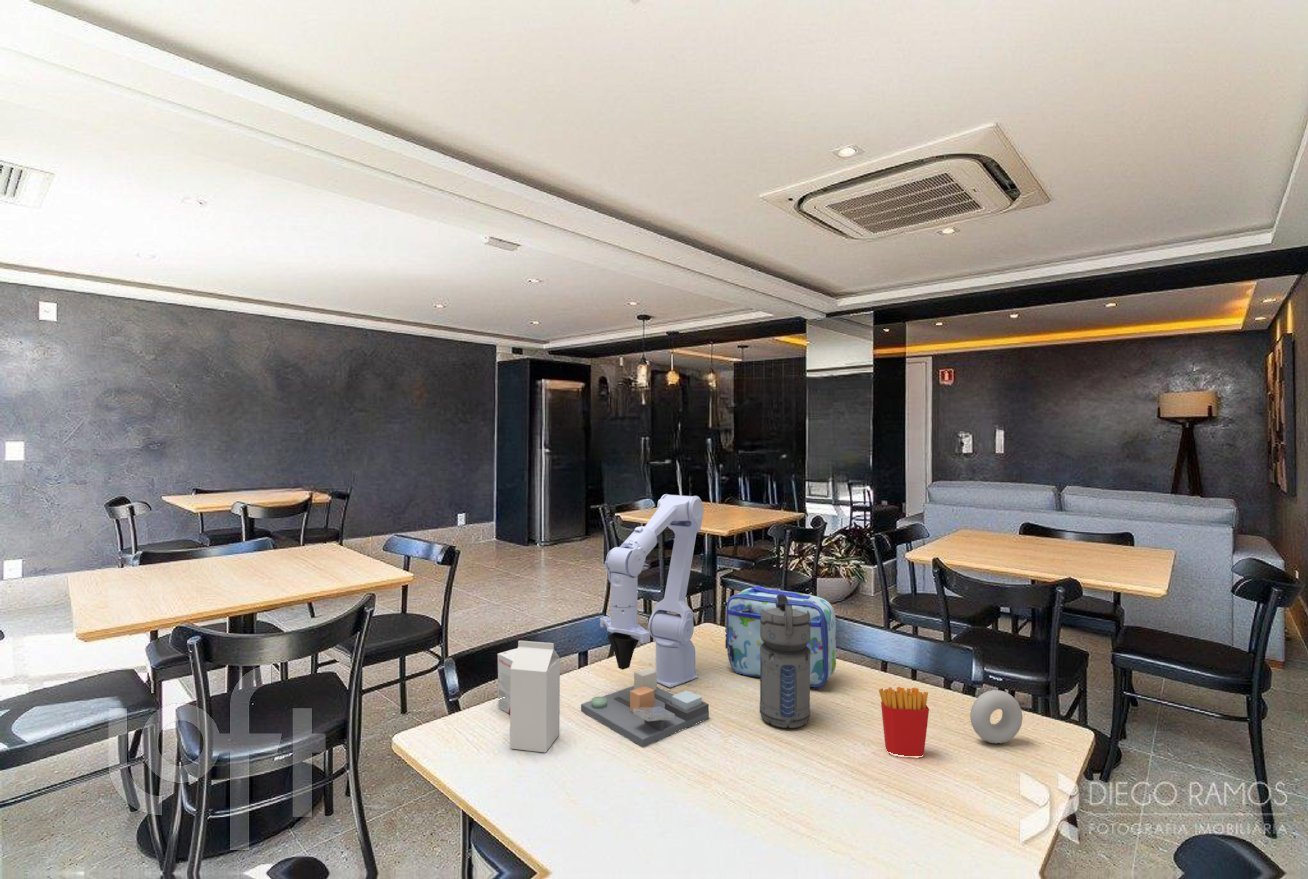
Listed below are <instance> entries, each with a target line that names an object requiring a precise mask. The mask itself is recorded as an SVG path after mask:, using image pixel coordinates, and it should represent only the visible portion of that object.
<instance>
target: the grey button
mask: <svg viewBox="0 0 1308 879" xmlns="http://www.w3.org/2000/svg"><path fill="white" fill-rule="evenodd" d="M702 701H703V696H701V695H698V694H696V693H694V692H691V691H689V690H688V689H687V690H684V691H681V692H679V693H676V694H673V696H672V704H673V705H675V706H677V707H679V708H681V709H683V710H685V711H688V710H690V709H693V708H695V707H698V706H700V705H702Z"/></svg>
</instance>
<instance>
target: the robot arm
mask: <svg viewBox="0 0 1308 879" xmlns="http://www.w3.org/2000/svg"><path fill="white" fill-rule="evenodd" d="M656 506H657V507H656V511H655V512H654V513H653V515H652V516H651V517H650V518H649V520H648V522H647V523H646V524H645V525H644V526H643V525H641V526H637V527H635V528H634V530H633V531H632V532H631V534H630V535H629V536H628V537H627V538H626V539H625V541H623V543H621V545H619V546H615V547H613V548H612V549H610V550H609V551H608V553H607V555H606V558H605V561H604V568H605V570H606V572H607V575H608V578H607V580H608V581H609V583H610V616H607V615H606V616H603V617H600V618H599V627H600V628H606V631H607V632H609V633H610V634H608V635H607V640H608V641H609V642H610V645H611V646H612V649H613V652H614V656H615V659H616V663H617V668H618V669H620V670H623V671H624V670H626V669H630V666H631V662H632V658H633V654H634V652H635V649H636V647H637V645H638V643H641V644H645V643H649V642H650V641H651V637H652V642H654V643H655V671H656V672H657V684H658V683H659V684H661V685H663V686H665V687H667V688H670V689H671V688H674V687H676V686H680V685H682V684H684V683H686V682H690V681H691V680H692V681H693V680H695V679H697V678H698V677H699V676H698V675H697V674H696V647H695V645H694V643H693V642H692V640H691V639H692V638H693V634H694V631H695V629H694V628H695V625H694V618H695V617H694V615H695V614H694V612H693V610H692V609H691V608H690V607H689V605H688V604H687V603H686V598H687V593H688V586H689V581H690V574H691V569H692V563H693V557H694V550H695V544H696V537H697V533H699V532H701V529H702V524H703V519H704V511H705V508H704V505H703V502H702V499H701V498H700V496H698V495H693V496H692V495H678V494H668V493H665V494H663V495H662V496H661V497H660V499H658V501H657V505H656ZM667 527H668V529H670V530H671V531H672V532H673V533H674V541H673V546H672V551H671V558H670V562H669V568H668V569H669V570H668V574H667V580H666V585H665V591H664V597H663V599H661V600H660V601H659V602H657V603H655V604H654V606H653V609H652V612H651V615H650V616H649V619H648V624H647V627H648V628H647V629H648V630H647V629H645V628H644V627H643V626H641V625H640V624H639V623H638V607H639V606H638V605H639V604H638V601H639V600H638V594H639V593H638V581H639V580H638V576H639V575H640V574H642V571H643V568H644V565H645V562H646V559H647V558H646V557H647V556H648V555H649V554H650V553H651V552H652V550H653V549H654V548H655V547H656V546H657V544H658V538H657V537H658V536H659V535H660V534H661V533H662V532H663V531H664V530H665V529H666V528H667ZM673 613H677V614H673Z"/></svg>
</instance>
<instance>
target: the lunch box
mask: <svg viewBox="0 0 1308 879" xmlns="http://www.w3.org/2000/svg"><path fill="white" fill-rule="evenodd" d="M779 594H784V595H785V596H786V597H787V599H788V603H789V604H792V609H796V610H799V611H801V612H804V613H807V611H809V613H810V624H811V628H810V641H809V642H808V644H807V645H806V646H807V647H808V648H809V649H810V688H822V687H824V686H825V685H826V684H827V681H828V679H829V678H830V677H832V676H833V675H834V673H835V671H836V667H837V645H836V644H837V641H836V640H837V638H836V637H837V635H836V633H837V627H836V626H837V625H836V624H837V622H836V620H837V619H836V613H835V609H834V607H833V605H832V604H831V603H830V602H829V601H828V600H826V599H824V598H822V597H819V596H816V595H812V594H807V593H802V592H796V591H794V592H793V591H787V590H779V589H771V588H770V589H769V588H764V587H762V586H760V585H756V586H754V587H750V588H745V589H743V590H741V591H740V592H739V593H736V594H733V595H731V596H730V597H728V599H727V602H726V627H725V629H724V633H725V640H724V641H725V643H724V644H725V646H724V647H725V649H726V650H727V651H726V652H727V658H728V661H729V665H730V666H731V669H732V670H733V671H734V673H736V674H737V673H739V674H738V675H740V674H743V675H742V676H751V677H755V678H760V646H761V644H763V643H764V641H763V640H762V638H761V637H760V619H761V611H762V609H764V611H766V610H769V609H772V608H776V603H775V601H776V598H777V595H779Z"/></svg>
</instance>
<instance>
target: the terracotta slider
mask: <svg viewBox="0 0 1308 879" xmlns="http://www.w3.org/2000/svg"><path fill="white" fill-rule="evenodd" d="M641 707H654V690H653V689H651V688H649V687H647V686H643V687H640V688H637V689H634V690H631V691H630V711H632V712H633V710H634V708H641Z"/></svg>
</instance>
